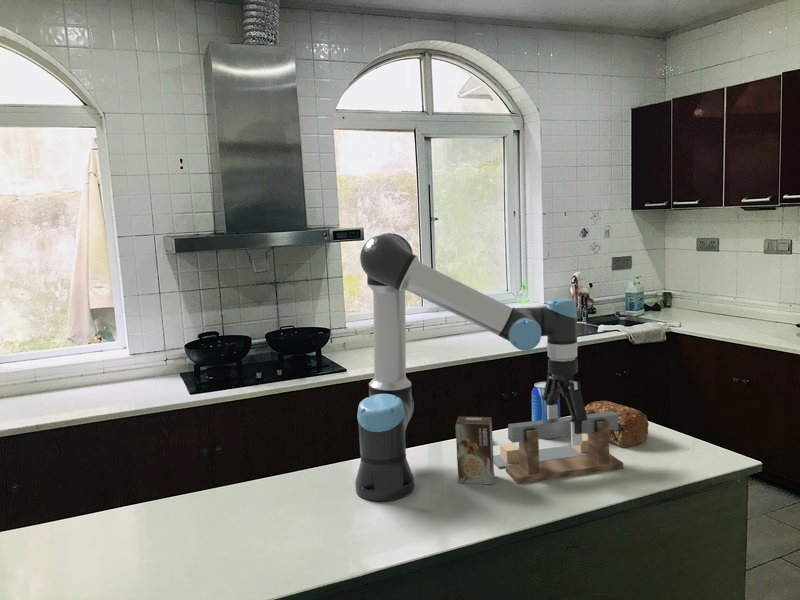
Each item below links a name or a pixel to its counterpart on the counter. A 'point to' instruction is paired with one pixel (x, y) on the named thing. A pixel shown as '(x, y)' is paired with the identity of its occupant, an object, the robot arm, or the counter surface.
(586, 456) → the walnut rack
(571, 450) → the slate mat with oak rests
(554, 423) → the steel rail
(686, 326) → the counter surface
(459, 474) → the coffee box
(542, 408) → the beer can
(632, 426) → the bread
